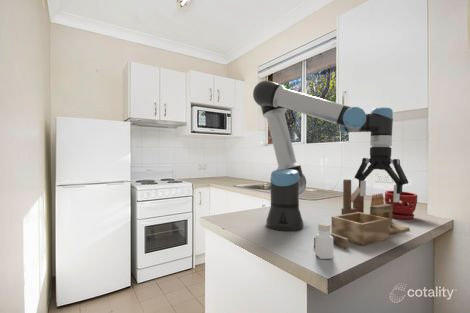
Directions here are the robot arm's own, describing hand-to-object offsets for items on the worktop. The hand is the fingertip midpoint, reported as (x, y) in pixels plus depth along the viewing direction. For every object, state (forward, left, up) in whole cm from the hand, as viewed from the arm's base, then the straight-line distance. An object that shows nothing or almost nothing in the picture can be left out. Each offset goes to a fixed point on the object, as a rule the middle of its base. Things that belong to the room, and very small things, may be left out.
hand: (378, 198), depth 99 cm
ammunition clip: (-9, +15, -12) cm, 21 cm away
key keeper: (+5, -34, -12) cm, 37 cm away
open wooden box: (+3, -16, -12) cm, 20 cm away
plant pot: (-6, +29, -12) cm, 32 cm away
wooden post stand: (+1, +1, -12) cm, 12 cm away
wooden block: (-19, +11, -12) cm, 25 cm away
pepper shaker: (+9, -42, -12) cm, 45 cm away
